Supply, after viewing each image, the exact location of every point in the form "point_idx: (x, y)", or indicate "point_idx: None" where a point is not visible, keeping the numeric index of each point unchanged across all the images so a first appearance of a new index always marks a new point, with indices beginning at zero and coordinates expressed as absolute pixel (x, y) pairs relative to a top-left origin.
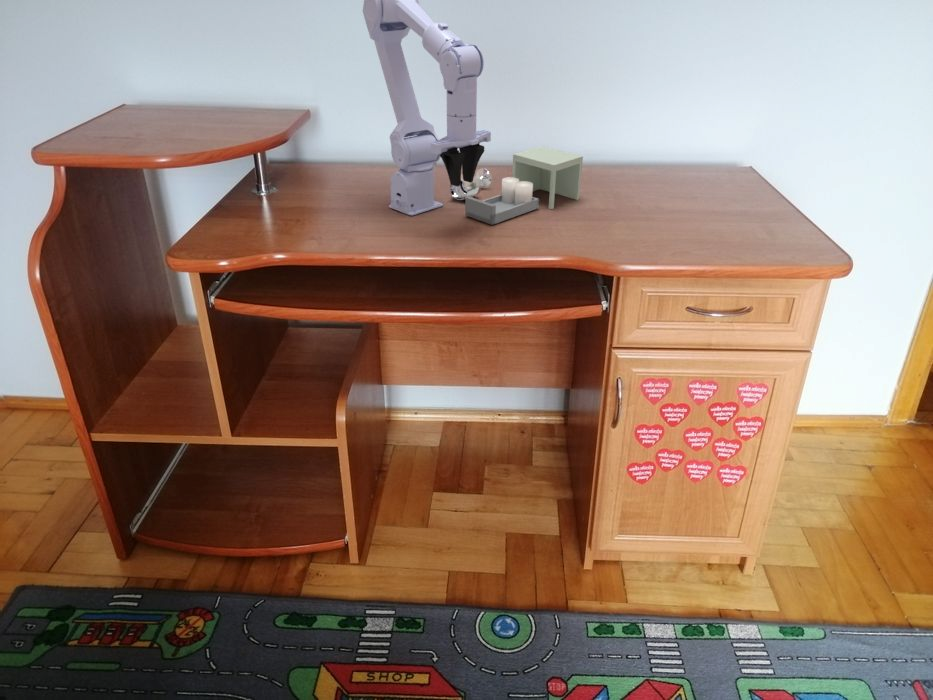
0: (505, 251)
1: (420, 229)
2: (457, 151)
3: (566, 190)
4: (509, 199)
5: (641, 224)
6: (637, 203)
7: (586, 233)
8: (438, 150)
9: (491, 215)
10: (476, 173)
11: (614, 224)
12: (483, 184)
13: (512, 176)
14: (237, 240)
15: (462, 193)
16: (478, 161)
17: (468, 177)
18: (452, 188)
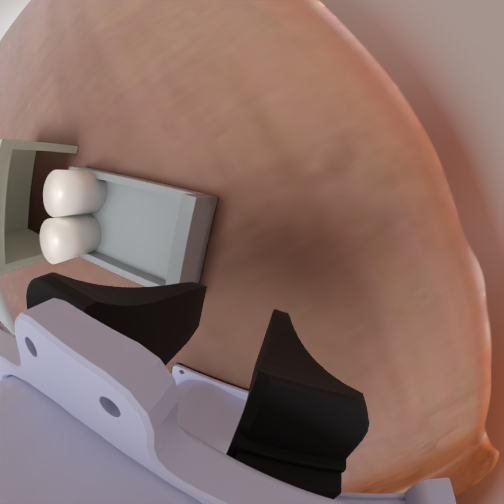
0: (354, 87)
1: (332, 348)
2: (254, 445)
3: (24, 167)
4: (92, 225)
5: (98, 8)
6: (34, 71)
7: (161, 21)
8: (453, 498)
9: (207, 200)
10: None
11: (107, 26)
12: None
13: (33, 263)
14: None
15: None
16: (120, 287)
17: (195, 305)
18: None
